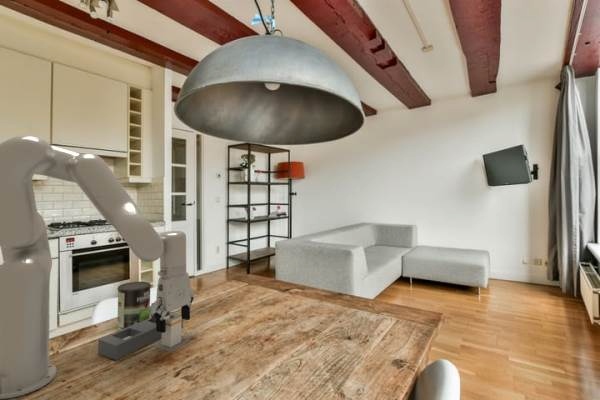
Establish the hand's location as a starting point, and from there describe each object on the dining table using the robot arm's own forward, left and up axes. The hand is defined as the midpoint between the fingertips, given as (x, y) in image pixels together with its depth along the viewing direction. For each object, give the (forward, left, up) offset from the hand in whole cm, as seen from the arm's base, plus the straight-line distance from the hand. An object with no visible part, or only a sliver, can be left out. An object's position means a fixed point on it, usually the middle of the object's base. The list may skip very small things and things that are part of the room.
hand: (173, 325), depth 94 cm
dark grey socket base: (-3, +10, -6) cm, 12 cm away
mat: (-1, 0, -6) cm, 6 cm away
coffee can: (+3, +23, -6) cm, 24 cm away
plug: (-1, 0, -5) cm, 5 cm away
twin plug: (+3, +10, -4) cm, 11 cm away
